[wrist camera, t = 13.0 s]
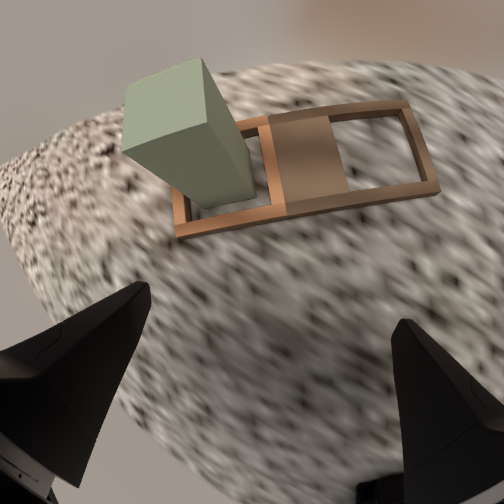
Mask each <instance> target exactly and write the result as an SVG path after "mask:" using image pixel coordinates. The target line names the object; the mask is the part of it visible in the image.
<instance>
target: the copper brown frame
mask: <svg viewBox="0 0 504 504" xmlns="http://www.w3.org/2000/svg"><path fill="white" fill-rule="evenodd" d="M384 116H399V118H400V121H401V123H402V125H403V128H404V131H405V133H406V136H407V138H408V141H409V144H410V147H411V149H412V152H413V155H414V158H415V161H416V164H417V167H418V170H419V173H420V177H421V180H422V182H416V183H408V184H401V185H394V186H387V187H380V188H373V189H366V190H360V191H353V192H349V188H348V184H347V180H346V177H345V173H344V169H343V165H342V162H341V158H340V154H339V151H338V147H337V144H336V141H335V137H334V134H333V131H332V128H331V124H330V122H336V121H344V120H352V119H362V118H372V117H384ZM235 123H236V125H237V127H238V129H239V131H240V133H241V135H242V137H243V138H247V137H252V136H256V135H259V137H260V142H261V148H262V153H263V158H264V164H265V169H266V175H267V180H268V186H269V192H270V197H271V203H272V205H268V206H263V207H258V208H253V209H248V210H243V211H238V212H233V213H228V214H223V215H219V216H214V217H209V218H205V219H200V220H196V221H192V217H191V207H190V198H188V197H187V196H185V195H184V194H183V193H181V192H180V191H178V190H177V189H175V188H174V187H172V198H173V211H174V223H175V234H176V237H177V238H180V239H188V238H193V237H198V236H203V235H208V234H213V233H218V232H223V231H228V230H234V229H239V228H244V227H249V226H255V225H260V224H265V223H271V222H276V221H281V220H287V219H293V218H298V217H304V216H309V215H315V214H321V213H327V212H333V211H339V210H345V209H351V208H357V207H363V206H369V205H375V204H382V203H388V202H395V201H401V200H408V199H415V198H422V197H428V196H436V195H437V194H438V193H440V192H441V189H440V185H439V182H438V179H437V176H436V172H435V169H434V166H433V163H432V160H431V157H430V155H429V152H428V149H427V146H426V144H425V141H424V138H423V136H422V133H421V131H420V128H419V126H418V123H417V121H416V119H415V116H414V114H413V112H412V110H411V107H410V105H409V103H408V101H407V100H385V101H371V102H359V103H349V104H340V105H332V106H324V107H317V108H311V109H304V110H298V111H292V112H287V113H281V114H276V115H271V116H267V115H265V116H260V117H256V118H251V119H247V120H242V121H238V122H235Z"/></svg>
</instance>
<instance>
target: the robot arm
mask: <svg viewBox="0 0 504 504" xmlns="http://www.w3.org/2000/svg"><path fill="white" fill-rule="evenodd" d="M150 308H151V293H150V286H149V284H148V283H147V282H142V281H136V282H134V283H132V284H130V285H129V286H127V287H125V288H123V289H121V290H119V291H117V292H115V293H113V294H112V295H110V296H108V297H106V298H104V299H102V300H100V301H99V302H97V303H95V304H93V305H91V306H89V307H88V308H86V309H84V310H82V311H80V312H78V313H77V314H75V315H73V316H71V317H69V318H67V319H66V320H64V321H63V322H60V323H58V324H57V325H55V326H53V327H51V328H49V329H47V330H46V331H44V332H42V333H40V334H37V335H35V336H33V337H31V338H29V339H27V340H25V341H22V342H20V343H18V344H16V345H14V346H11V347H9V348H7V349H5V350H2V351H0V504H58V501H57V499H56V497H55V494H54V492H53V490H52V487H51V486H52V483H53V481H54V478H55V476H56V477H58V478H60V479H61V480H63V481H65V482H67V483H69V484H70V485H72V486H74V487H76V488H79V486H80V484H81V481H82V477H83V475H84V472H85V469H86V467H87V463H88V460H89V458H90V456H91V453H92V450H93V448H94V445H95V442H96V439H97V437H98V434H99V432H100V429H101V427H102V424H103V422H104V419H105V417H106V415H107V412H108V409H109V407H110V405H111V402H112V400H113V398H114V396H115V393H116V391H117V389H118V386H119V384H120V382H121V380H122V377H123V375H124V373H125V371H126V368H127V366H128V364H129V362H130V360H131V358H132V355H133V353H134V351H135V349H136V347H137V345H138V342H139V340H140V337H141V334H142V331H143V328H144V325H145V322H146V319H147V316H148V314H149V311H150ZM391 346H392V359H393V373H394V381H395V387H396V394H397V401H398V409H399V417H400V426H401V436H402V448H403V463H404V473H403V474H400V475H396V476H392V477H388V478H384V479H380V480H376V481H371V482H367V483H362V484H359V485H357V487H356V503H355V504H504V405H503V404H502V403H501V402H500V401H499V400H497V399H496V398H495V397H494V396H493V395H492V394H491V393H490V392H488V391H487V390H486V389H485V388H484V387H483V386H482V385H481V384H480V383H479V382H478V381H477V380H476V379H475V378H474V377H473V376H472V375H470V373H469V372H468V371H467V370H466V369H464V368H463V367H462V366H461V365H460V364H459V363H458V362H457V361H456V360H455V359H454V358H453V357H452V356H451V355H450V354H449V353H448V352H447V351H446V350H445V349H443V348H442V347H441V346H440V345H439V344H438V343H437V342H436V341H435V340H434V339H433V338H432V337H430V336H429V335H428V334H427V333H426V332H425V331H424V330H423V329H422V328H421V327H419V326H418V325H417V324H416V323H415V322H414V321H413V320H411V319H404V318H403V319H401V320H400V321H399V323H398V324H397V326H396V328H395V330H394V332H393V334H392V337H391ZM362 487H363V488H362ZM360 488H361V489H360Z"/></svg>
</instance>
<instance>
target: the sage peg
mask: <svg viewBox="0 0 504 504" xmlns="http://www.w3.org/2000/svg"><path fill="white" fill-rule="evenodd" d="M121 152H123V153H124V154H126V155H127V156H129V157H130V158H132V159H133V160H134V161H136V162H137V163H139V164H140V165H142V166H143V167H145V168H146V169H148V170H149V171H151V172H152V173H153V174H155V175H156V176H158V177H159V178H161V179H162V180H164V181H165V182H167V183H168V184H169V185H171V186H172V187H174V188H175V189H177V190H178V191H180V192H181V193H183V194H184V195H185V196H187V197H188V198H190V199H191V200H193V201H194V202H196V203H197V204H198V205H200V206H201V207H203V208H204V209H207V208H211V207H216V206H220V205H225V204H229V203H234V202H239V201H244V200H248V199H253V198H257V196H256V190H255V184H254V178H253V172H252V166H251V160H250V154H249V149H248V147H247V145H246V143H245V141H244V139H243V137H242V135H241V133H240V131H239V129H238V127H237V125H236V123H235V121H234V119H233V117H232V115H231V113H230V111H229V109H228V107H227V105H226V103H225V101H224V99H223V97H222V95H221V93H220V92H219V90H218V88H217V86H216V84H215V82H214V80H213V78H212V76H211V74H210V73H209V71H208V69H207V67H206V65H205V63H204V61H203V59H202V58H201V57H200V58H197V59H194V60H191V61H188V62H185V63H182V64H179V65H176V66H174V67H171V68H168V69H166V70H163V71H161V72H158V73H155V74H153V75H151V76H148V77H146V78H143V79H141V80H139V81H136V82H134V83H132V84H130V85H128V86H127V90H126V98H125V107H124V119H123V132H122V151H121Z"/></svg>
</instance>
